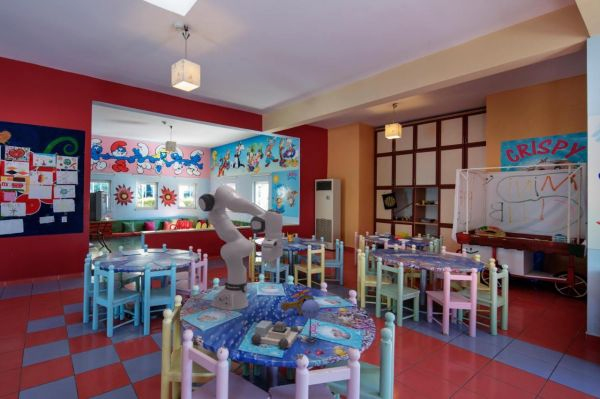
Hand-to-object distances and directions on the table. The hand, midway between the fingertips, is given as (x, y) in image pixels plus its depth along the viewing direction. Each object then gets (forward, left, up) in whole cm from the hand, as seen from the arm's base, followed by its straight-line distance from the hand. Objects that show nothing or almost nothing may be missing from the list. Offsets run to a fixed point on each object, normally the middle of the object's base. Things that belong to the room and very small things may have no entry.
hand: (272, 267), depth 161 cm
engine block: (+10, -15, -27) cm, 32 cm away
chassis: (+8, -15, -29) cm, 34 cm away
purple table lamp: (+23, -9, -29) cm, 38 cm away
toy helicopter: (+9, +18, -29) cm, 36 cm away
